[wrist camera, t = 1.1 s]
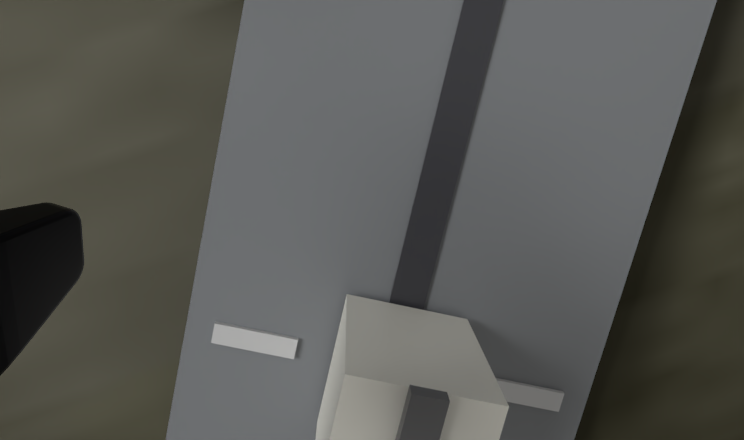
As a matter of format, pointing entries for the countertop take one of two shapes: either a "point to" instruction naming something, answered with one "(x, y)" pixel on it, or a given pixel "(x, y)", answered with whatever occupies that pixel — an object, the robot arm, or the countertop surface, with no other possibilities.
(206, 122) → the countertop surface
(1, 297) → the robot arm
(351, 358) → the fader cap
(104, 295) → the countertop surface
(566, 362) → the slider track base
